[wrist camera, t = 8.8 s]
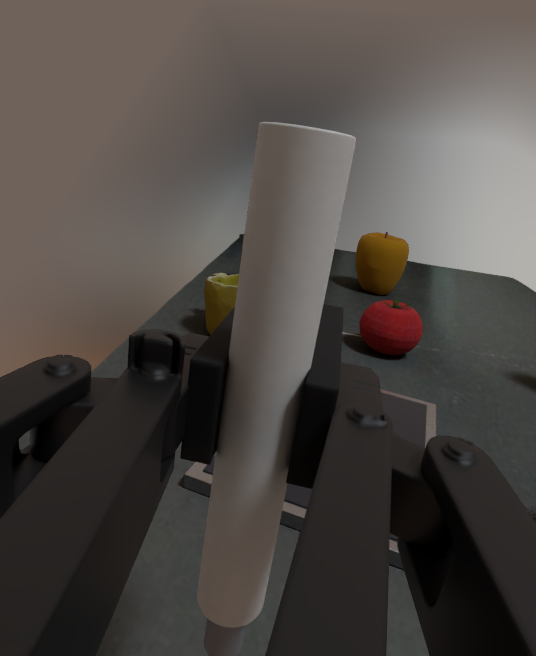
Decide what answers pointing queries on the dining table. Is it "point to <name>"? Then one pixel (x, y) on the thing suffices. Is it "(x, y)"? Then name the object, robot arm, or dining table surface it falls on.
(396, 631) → the dining table surface
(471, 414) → the dining table surface
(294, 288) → the white cylindrical rod
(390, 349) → the tomato
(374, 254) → the apple
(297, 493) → the tablet
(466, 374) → the dining table surface
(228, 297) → the mug
